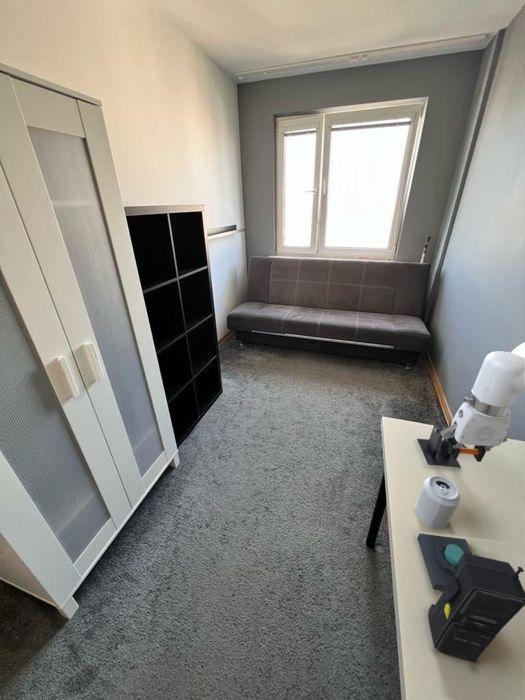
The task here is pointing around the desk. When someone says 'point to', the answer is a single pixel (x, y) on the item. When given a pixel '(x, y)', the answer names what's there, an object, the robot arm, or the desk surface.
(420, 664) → the desk surface
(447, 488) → the can
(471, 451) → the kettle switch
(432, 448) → the kettle bracket
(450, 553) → the socket button
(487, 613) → the portable radio
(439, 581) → the socket block
